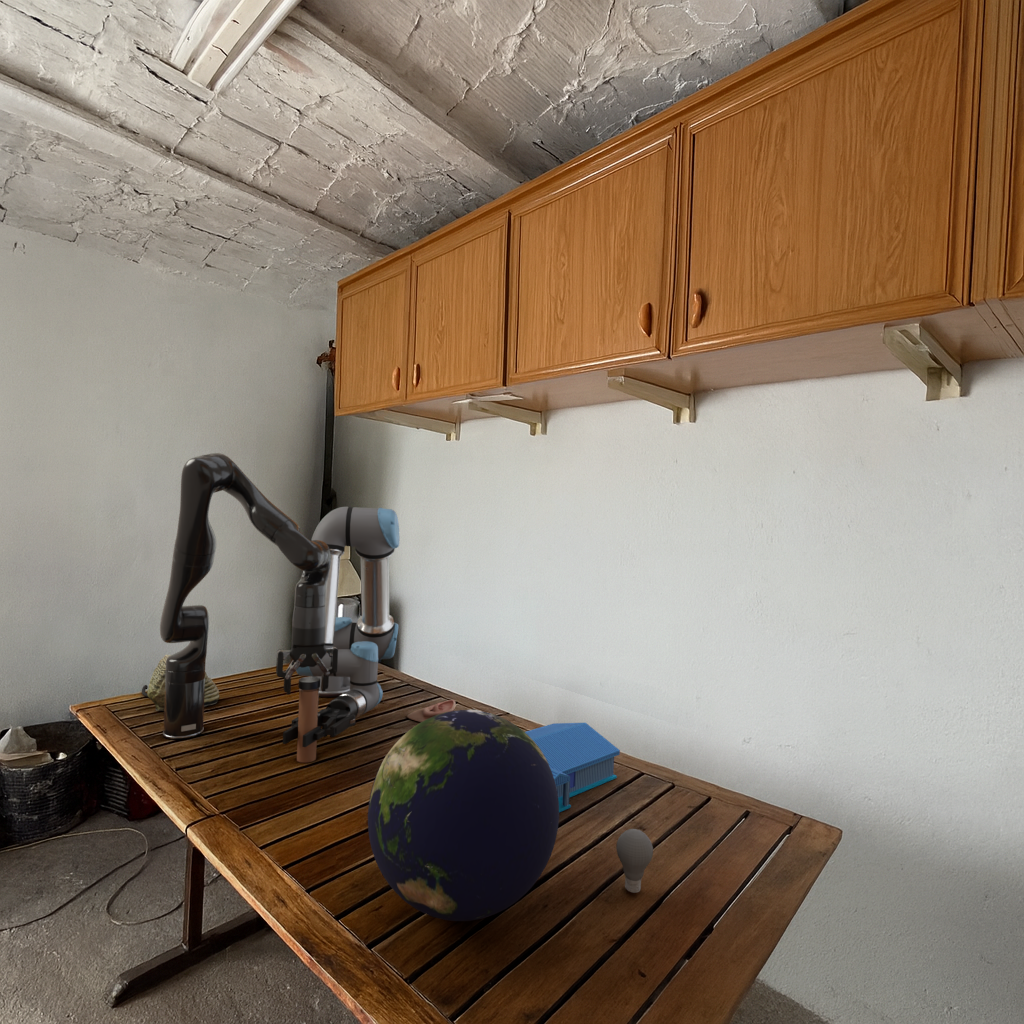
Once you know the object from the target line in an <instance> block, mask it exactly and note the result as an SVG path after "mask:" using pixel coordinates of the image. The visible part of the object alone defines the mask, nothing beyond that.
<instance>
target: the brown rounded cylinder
mask: <svg viewBox="0 0 1024 1024" xmlns="http://www.w3.org/2000/svg"><path fill="white" fill-rule="evenodd" d="M298 689H299V688H298ZM298 693H299V694H298V715H297V717H298V737H297V738H296V740H297V741H296V762H298V763H303V764H304V763H305V764H307V763H311V762H314V761H316V760H317V750H318V749H317V747H318V740H316V741H315V742H313V743H311V744H310V745H308V746H307V747H302V746H303V735H304V734H306V733H308V732H309V731H311V730H313V729H314V728H316V727H318V726H317V725H318V712H319V688H318V689H314V690H302V689H299V691H298Z"/></svg>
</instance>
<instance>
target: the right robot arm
mask: <svg viewBox="0 0 1024 1024" xmlns="http://www.w3.org/2000/svg"><path fill="white" fill-rule="evenodd" d="M400 539H401V535H400V524H399V517H398V515H397V512H396V511H395V510H394V509H392V508H383V507H359V506H357V507H355V506H340V507H337V508H335V509H332V510H330V511H329V512H328V513H327V514H326V515H325V516H324V517H323V518H321V520H320V522H319V523H318V524H317V526H316V528H315V530H314V532H313V534H312V537H311V541H312V540H321V541H323V542H325V543H326V544H327V545H328V546H329V548H330V551H331V566H330V571H329V575H328V580H327V583H326V598H325V611H326V624H325V648H332V647H333V646H334V647H336V648H337V650H338V664H337V672H336V673H333V674H330V675H329V684H328V689H326V691H325V692H322V690H321V680H322V675H323V672H322V671H321V669H320V668H319V666H318V665H316V666H315V667H309V666H307V667H304V668H301V667H298V669H297V670H296V671H295V673H296V674H297V675H299V676H300V677H318V678H320V687H319V697H320V698H333V699H332V700H330V701H329V702H328V703H327V705H326V707H325V708H322V709H320V710H318V725H317V727H316V728H314V729H313V730H311V731H309V732H308V733H306V734H304V735H303V746H302V747H307V746H308V745H310V744H311V743H313V742H315V741H316V740H317V741H318V740H321V739H322V738H327V737H328V736H329V737H330V738H335V737H337V736H338V735H340V734H341V733H343V732H344V731H346V730H348V729H349V728H351V727H354V726H356V720H357V719H358V718H359V717H361V716H363V715H364V714H366V713H368V712H369V711H371V710H373V709H375V708H376V707H377V705H379V704H380V702H381V701H382V699H383V695H384V692H383V689H382V686H381V684H380V683H379V682H378V671H379V660H380V661H381V660H389V659H392V658H393V657H394V656H395V652H396V647H397V640H398V633H399V624H398V623H396V622H395V620H394V617H393V616H392V615H390V557H391V556H392V555H394V553H395V549H397V548H399V546H400ZM346 547H352V548H353V547H354V549H355V550H354V551H355V554H357V556H358V557H359V558H360V588H361V590H360V591H361V592H360V593H361V595H360V596H361V615H360V616H359V618H358V619H357V621H356V622H353V619H352V618H351V617H349V616H338V617H337V609H338V608H337V607H338V593H339V582H340V581H339V580H340V567H341V557H342V556H343V555H345V550H346V549H345V548H346ZM321 661H322V662H323V664H324V665H325V667H326V668H330V666H331V657H329V655H328V653H326V654H325V655H324V657H323V658H322V659H321ZM290 725H291V726H290V727H289V728H288V729H286V730H285V731H283V732H282V744H283V745H287V744H289V743H291V742H292V741H293V740H295V739H297V738H298V716H297V717H295V718H294V719H292V720H291V724H290Z"/></svg>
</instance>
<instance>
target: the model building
mask: <svg viewBox="0 0 1024 1024" xmlns="http://www.w3.org/2000/svg"><path fill="white" fill-rule="evenodd" d="M524 732H525V733H526V734H527V735H528V736H529V737H530V738H531V739H532V740H533V741H534V742H535V743H536V744H537V746H538V747H539V748H540V750H541V751H542V753H543V754H544V756H545V758H546V760H547V761H548V764H549V766H550V769H551V771H552V774H553V777H554V780H555V784H556V788H557V793H558V801H559V813H562V812H563V811H566V810H569V809H571V808H572V805H571V804H570V798H572V797H575V796H577V795H580V794H582V793H585V792H587V791H589V790H591V789H594V788H597V787H599V786H601V785H603V784H605V783H609V782H610V781H613V780H615V779H617V778H618V776H617V775H616V774H614V771H615V770H614V768H615V767H614V765H615V757H617V756H620V754H621V750H620V749H619V748H618V747H617V746H616V745H614V744H613V743H612V742H611V741H610V740H607V738H605V737H604V736H603V735H601V734H600V733H599V732H598V731H597V730H596V729H594V728H593V727H592V726H591V725H589V724H588V723H587V722H560V723H559V722H558V723H555V722H554V723H550V724H546V725H544V726H543V725H542V726H540V727H537V728H533V729H530V730H526V731H524Z"/></svg>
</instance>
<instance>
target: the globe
mask: <svg viewBox="0 0 1024 1024" xmlns="http://www.w3.org/2000/svg"><path fill="white" fill-rule="evenodd" d="M525 732H526V731H524V730H523V729H521V727H519V726H517V725H516V724H514V723H513V722H511V721H510V720H508V719H506V718H504V717H501V716H499V715H497V714H495V713H492V712H487V711H483V710H479V709H457V710H453V711H450V712H445V713H442V714H439V715H436V716H433V717H431V718H429V719H427V720H425V721H423V722H418V724H417V725H414V726H413V727H412V728H411V729H409V730H408V731H407V732H405V734H403V735H402V736H401V737H400V738H399V739H398V740H397V741H396V742H395V743H394V745H392V747H391V748H390V750H389V751H388V753H387V754H386V755H385V757H384V758H383V760H382V762H381V764H380V766H379V768H378V770H377V772H376V775H375V778H374V780H373V783H372V787H371V791H370V793H369V800H368V801H369V802H368V809H367V829H368V831H367V832H368V838H369V843H370V847H371V852H372V855H373V857H374V860H375V863H376V865H377V867H378V869H379V871H380V873H381V874H382V876H383V878H384V880H385V881H386V883H387V885H389V886H390V888H391V889H392V890H393V891H394V892H395V894H397V896H399V897H400V898H401V900H403V902H405V903H406V904H408V905H409V906H410V907H412V908H414V909H415V910H417V911H419V912H421V913H423V914H425V915H428V916H430V917H432V918H436V919H440V920H443V921H448V922H449V921H450V922H471V921H477V920H482V919H486V918H488V917H491V916H494V915H496V914H499V913H501V912H502V911H505V910H506V909H508V908H510V907H511V906H512V905H514V904H515V903H517V902H518V901H519V900H520V899H521V898H522V897H524V896H525V895H526V894H527V893H528V892H529V891H530V890H531V889H532V888H533V886H534V885H535V884H536V883H537V881H538V880H539V879H540V877H541V876H542V874H543V872H544V870H545V869H546V867H547V865H548V863H549V860H550V858H551V856H552V853H553V851H554V847H555V845H556V840H557V835H558V832H559V823H560V812H559V801H558V793H557V788H556V784H555V780H554V777H553V774H552V771H551V769H550V766H549V764H548V761H547V760H546V758H545V756H544V754H543V753H542V751H541V750H540V748H539V747H538V746H537V744H536V743H535V742H534V741H533V740H532V739H531V738H530V737H529V736H528V735H527V734H526V733H525Z"/></svg>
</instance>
